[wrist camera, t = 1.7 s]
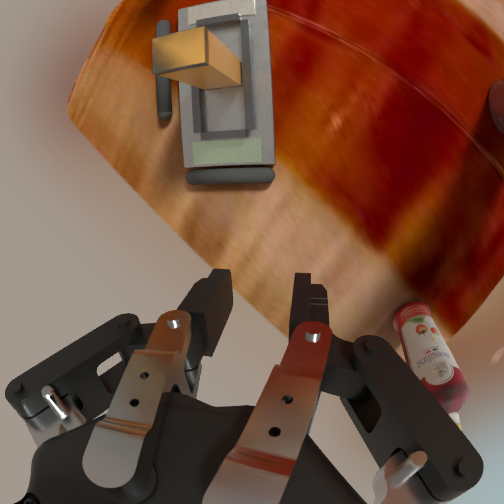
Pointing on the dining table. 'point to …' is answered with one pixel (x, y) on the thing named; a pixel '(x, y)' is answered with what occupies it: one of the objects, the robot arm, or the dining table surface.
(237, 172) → the dark grey rounded bar
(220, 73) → the tan wooden block
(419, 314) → the liquor
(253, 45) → the panel
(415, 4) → the dining table surface
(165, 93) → the grey rounded rod
